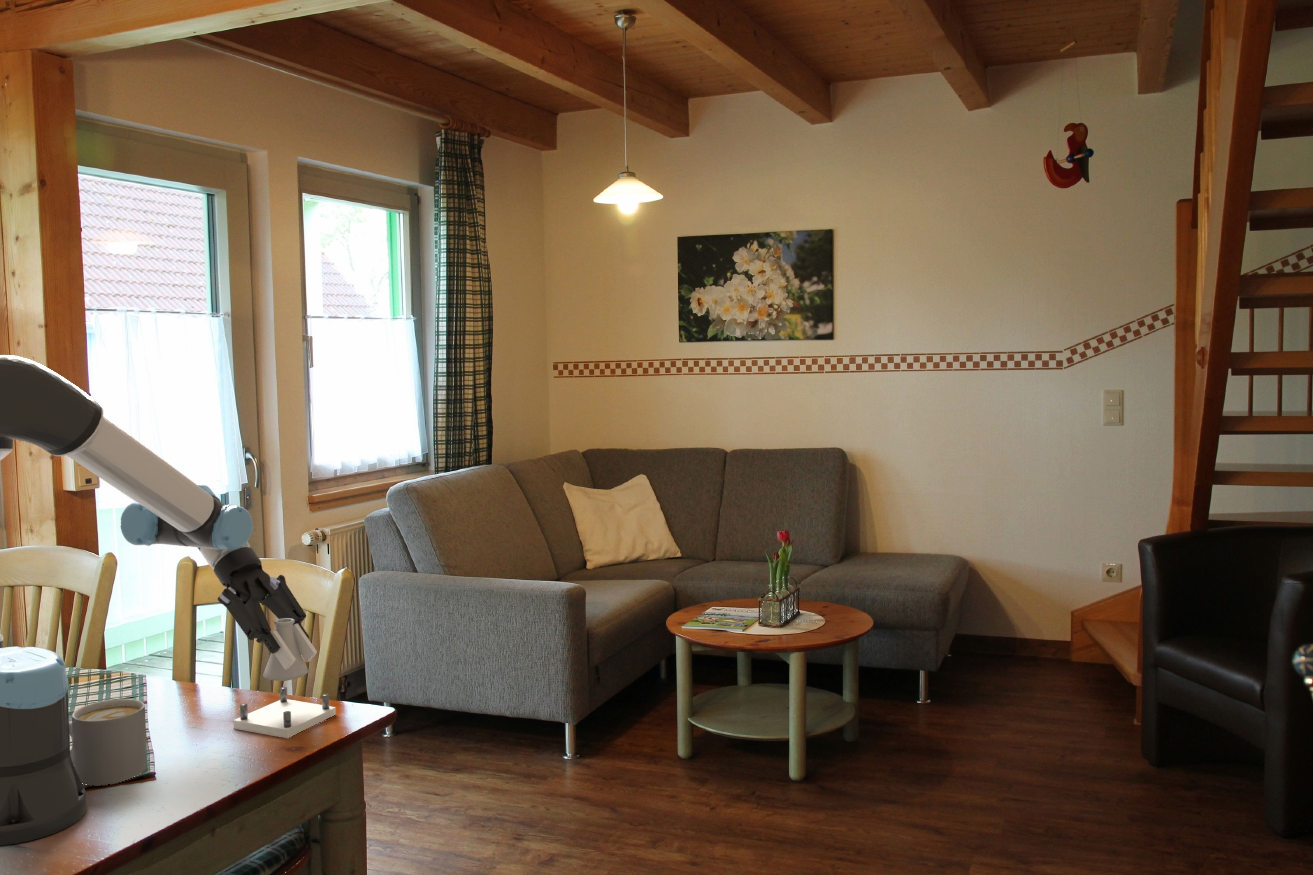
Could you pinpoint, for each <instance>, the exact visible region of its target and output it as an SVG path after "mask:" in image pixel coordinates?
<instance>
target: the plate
mask: <svg viewBox="0 0 1313 875" xmlns="http://www.w3.org/2000/svg"><path fill="white" fill-rule="evenodd" d="M285 711H291V727H289V728H284V720H283V712H285ZM334 715H337V708H336V706H331V705H329V709H327V710H323V709H322V704H318V703H312V702H305V701H300V700H294V699H288V698H287V702H284V703H281V702H280V699H279V700H277V701H274V702H272V703H270V704H267V705H266V706H263V707H260V708H258V709H256V710H254V711H252V712H248V719H246V720H240V717H237V718H236V719H233V729H235V730H240V731H244V732H250V733H257V734H262V735H267V736H273V737H277V736H278V738H282V737H283V739H290V738H292V737H291V736H293V735H295V734H297V733H299V732H301V731H303V730H305V729H306V728H308V727H311V726H312V725H314V724H317V723H319V722H320V721H322V720H325V719H327V718H329V717H332V716H334ZM334 717H335V716H334ZM332 718H333V717H332ZM325 721H326V720H325ZM319 724H320V723H319ZM317 725H318V724H317ZM311 728H312V727H311ZM305 731H306V730H305ZM303 732H304V731H303ZM301 733H302V732H301ZM299 734H300V733H299ZM297 735H298V734H297ZM295 736H296V735H295ZM289 737H290V738H289ZM293 737H294V736H293Z"/></svg>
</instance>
